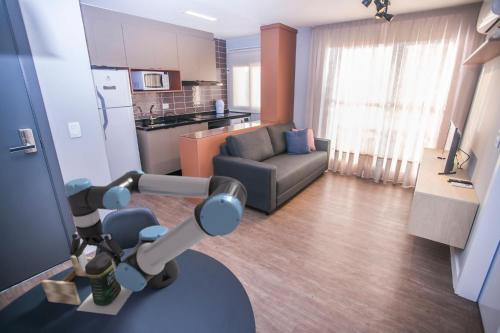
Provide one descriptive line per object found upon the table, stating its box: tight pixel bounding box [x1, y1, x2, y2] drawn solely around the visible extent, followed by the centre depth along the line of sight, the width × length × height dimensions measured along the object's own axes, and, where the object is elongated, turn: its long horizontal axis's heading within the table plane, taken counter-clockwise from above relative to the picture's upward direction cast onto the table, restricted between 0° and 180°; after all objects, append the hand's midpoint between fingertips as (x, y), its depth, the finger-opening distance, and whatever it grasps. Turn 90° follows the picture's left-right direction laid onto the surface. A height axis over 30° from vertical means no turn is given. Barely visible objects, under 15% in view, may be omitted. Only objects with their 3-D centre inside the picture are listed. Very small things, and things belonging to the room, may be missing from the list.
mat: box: [76, 285, 134, 316], centre depth 97 cm, size 16×14×1 cm
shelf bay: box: [40, 255, 95, 306], centre depth 100 cm, size 14×14×10 cm
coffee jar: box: [85, 251, 121, 306], centre depth 94 cm, size 10×8×19 cm
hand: (101, 270), depth 93 cm, fingers open, 13 cm apart
